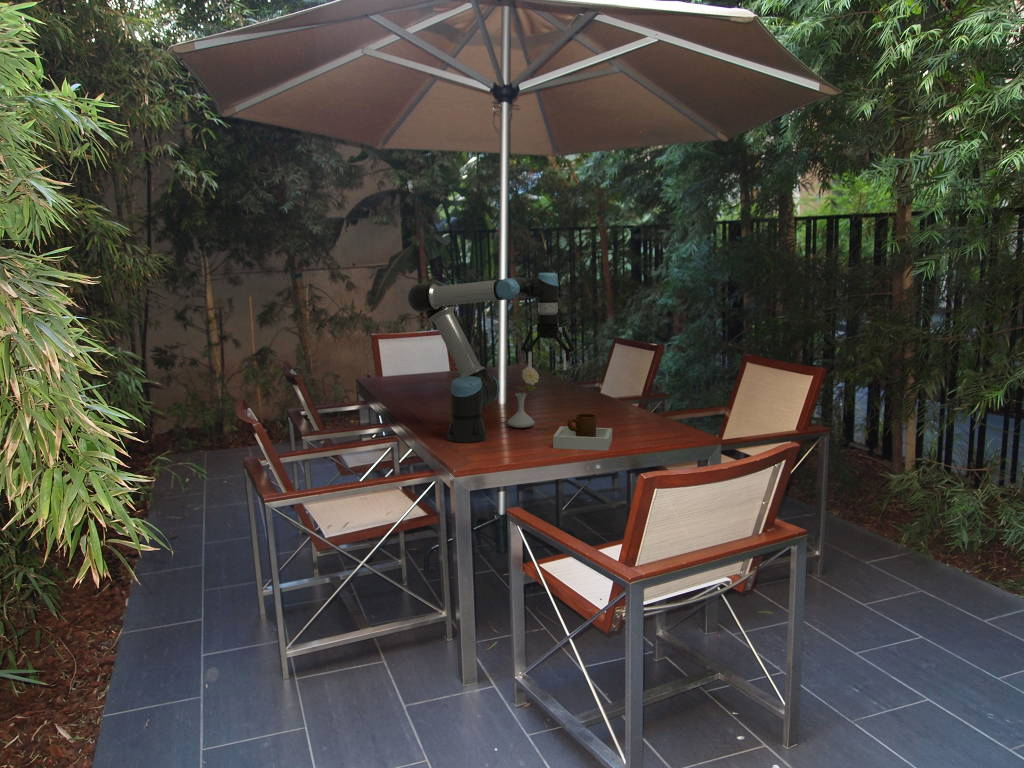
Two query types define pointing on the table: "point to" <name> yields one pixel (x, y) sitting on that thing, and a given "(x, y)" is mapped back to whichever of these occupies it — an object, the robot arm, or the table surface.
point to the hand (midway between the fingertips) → (547, 369)
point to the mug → (583, 425)
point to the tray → (582, 439)
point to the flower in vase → (521, 417)
